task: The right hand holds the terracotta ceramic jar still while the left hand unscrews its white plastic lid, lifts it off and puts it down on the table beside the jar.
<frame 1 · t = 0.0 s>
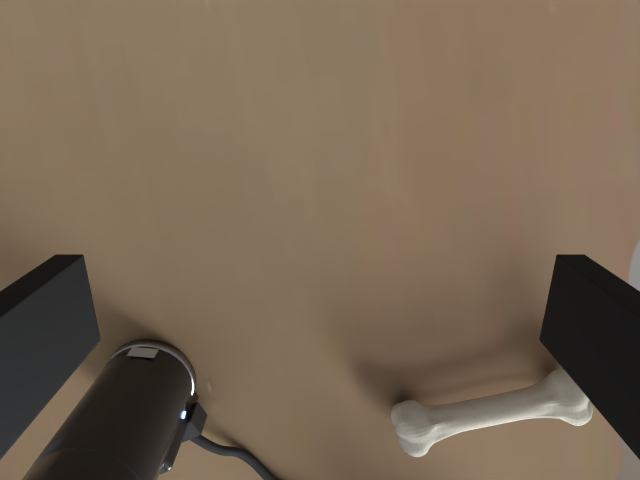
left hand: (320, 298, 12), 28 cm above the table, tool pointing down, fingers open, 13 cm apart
dog toy: (480, 395, 48), on the table
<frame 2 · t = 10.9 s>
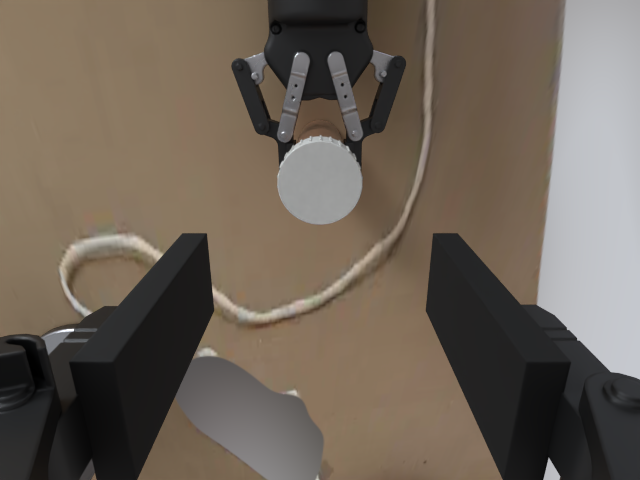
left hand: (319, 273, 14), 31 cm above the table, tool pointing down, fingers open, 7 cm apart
right hand: (320, 183, 38), fingers closed on jar, 4 cm apart
jar: (320, 141, 43), on the table, touching right hand
lid: (319, 183, 26), point 18 cm above the table, screwed on, not yet turned
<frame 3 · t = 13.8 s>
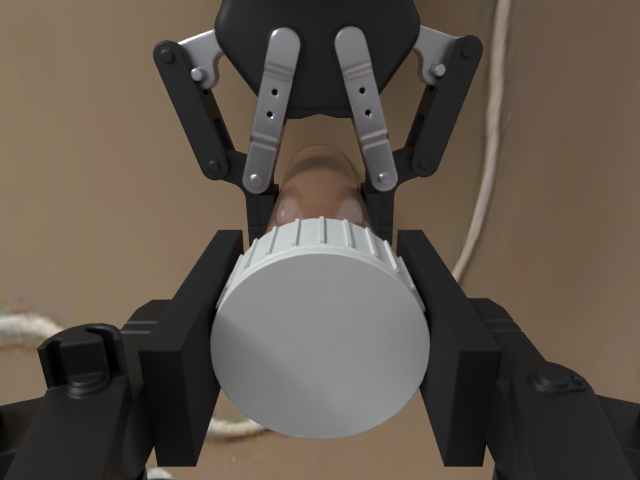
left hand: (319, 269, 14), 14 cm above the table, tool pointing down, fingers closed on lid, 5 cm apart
right hand: (321, 258, 22), fingers closed on jar, 4 cm apart
jar: (320, 178, 27), on the table, touching right hand
lid: (320, 345, 10), point 18 cm above the table, screwed on, not yet turned, touching left hand
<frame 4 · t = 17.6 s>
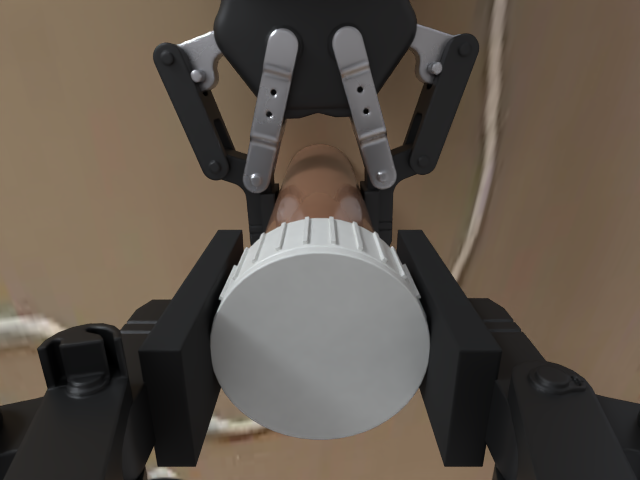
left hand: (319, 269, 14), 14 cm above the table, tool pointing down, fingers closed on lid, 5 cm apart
right hand: (322, 256, 22), fingers closed on jar, 4 cm apart
jar: (320, 177, 27), on the table, touching right hand
lid: (320, 345, 10), point 18 cm above the table, turned 132° so far, risen 0.2 cm, still on its thread, touching left hand
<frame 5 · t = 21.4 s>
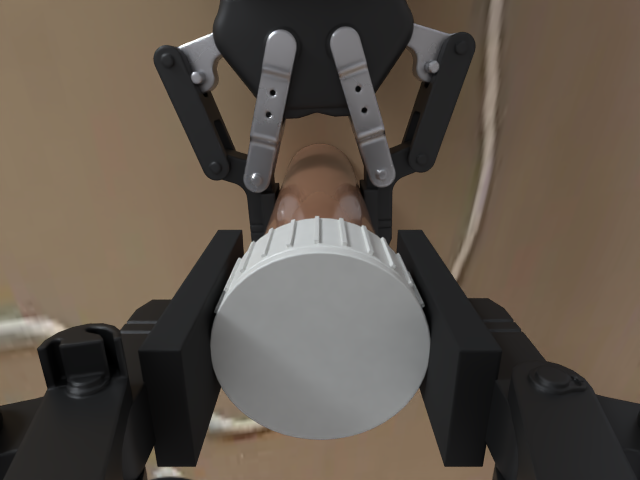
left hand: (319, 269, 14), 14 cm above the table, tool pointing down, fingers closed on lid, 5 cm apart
right hand: (322, 254, 23), fingers closed on jar, 4 cm apart
jar: (320, 176, 27), on the table, touching right hand
lid: (320, 345, 10), point 18 cm above the table, turned 264° so far, risen 0.5 cm, still on its thread, touching left hand
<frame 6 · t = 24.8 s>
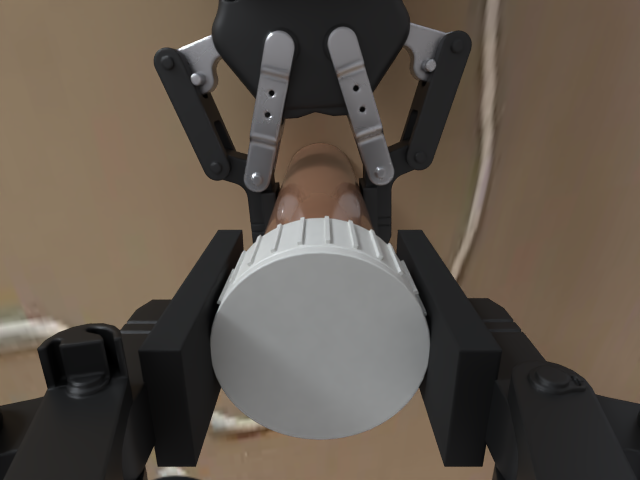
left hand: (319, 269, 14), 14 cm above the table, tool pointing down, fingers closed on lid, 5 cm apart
right hand: (323, 252, 23), fingers closed on jar, 4 cm apart
jar: (320, 176, 28), on the table, touching right hand
lid: (320, 345, 10), point 19 cm above the table, turned 396° so far, risen 0.7 cm, still on its thread, touching left hand
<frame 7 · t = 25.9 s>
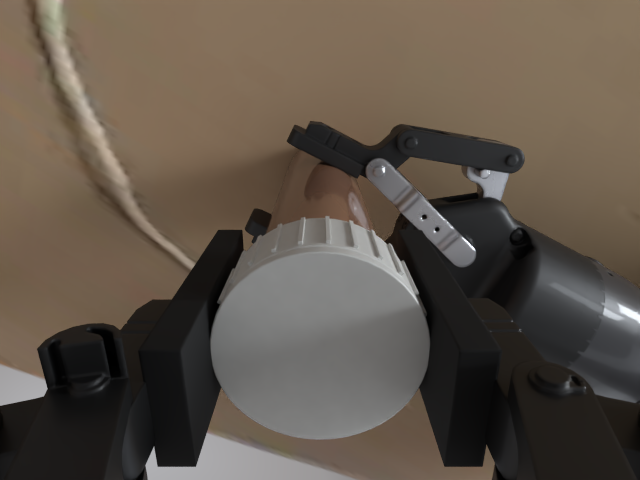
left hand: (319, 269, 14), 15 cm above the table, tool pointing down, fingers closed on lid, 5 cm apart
right hand: (270, 178, 22), fingers closed on jar, 4 cm apart
jar: (320, 175, 28), on the table, touching right hand
lid: (320, 345, 10), point 19 cm above the table, off its thread, touching left hand
when the left hand's fingers open (0 cm above the table, at t = 32.8 s): lid stays where it is, point 2 cm above the table.
when the right hand's fingers open (6 cm above the table, at t = 33.6 s): jar stays where it is, on the table.
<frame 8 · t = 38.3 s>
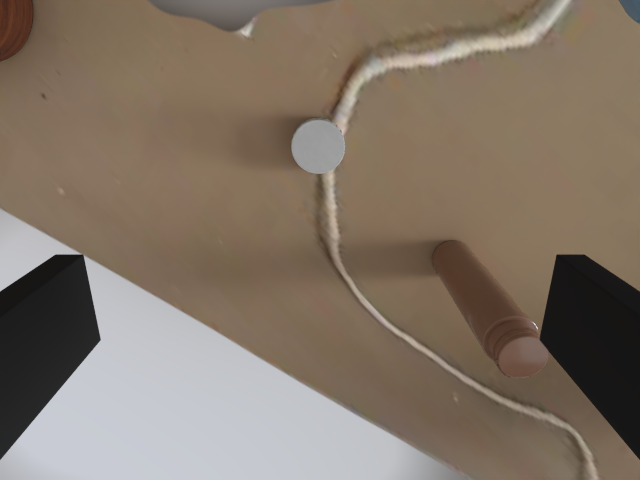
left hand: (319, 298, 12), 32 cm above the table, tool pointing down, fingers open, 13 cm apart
jar: (451, 258, 47), on the table
lid: (318, 146, 41), point 2 cm above the table, off its thread
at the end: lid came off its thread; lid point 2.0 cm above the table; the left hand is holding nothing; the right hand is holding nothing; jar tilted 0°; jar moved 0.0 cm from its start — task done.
